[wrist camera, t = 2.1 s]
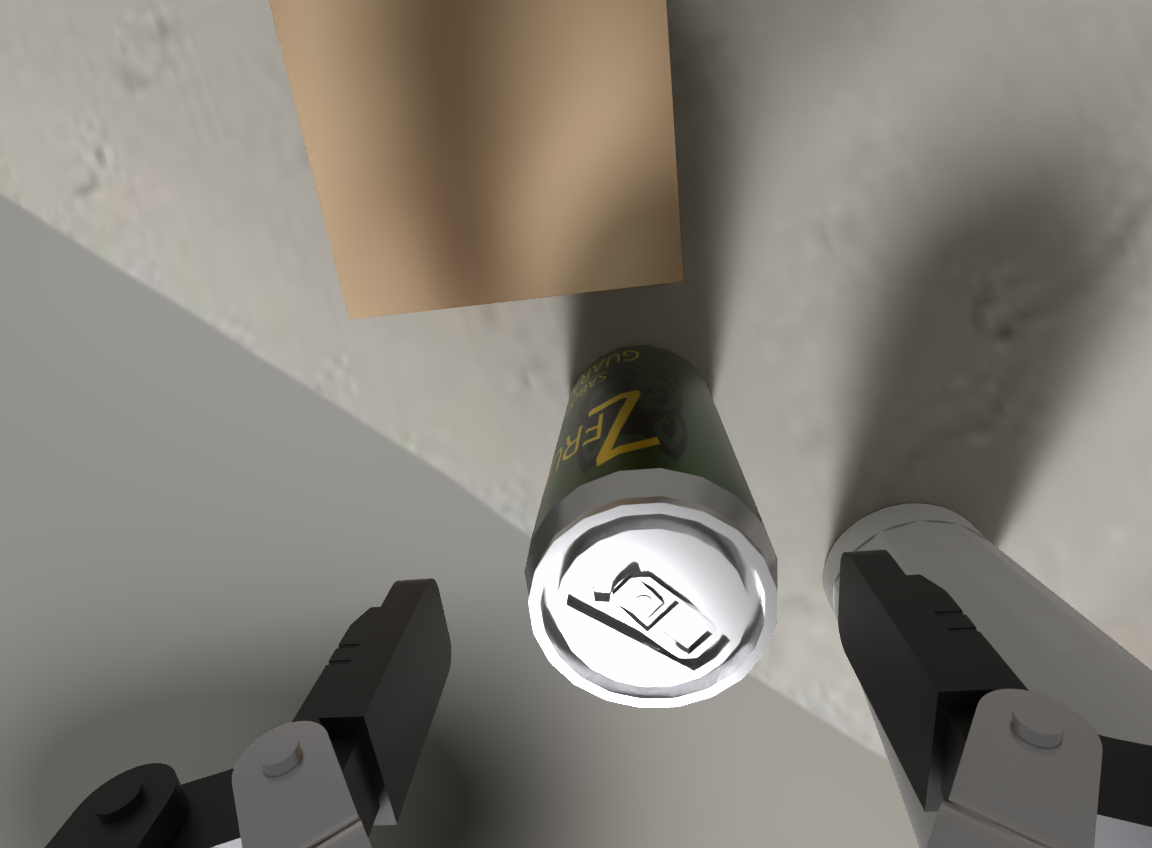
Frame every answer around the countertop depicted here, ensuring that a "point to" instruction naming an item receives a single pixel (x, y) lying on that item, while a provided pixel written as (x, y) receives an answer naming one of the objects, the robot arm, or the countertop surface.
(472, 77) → the stool
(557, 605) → the green soda can
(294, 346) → the countertop surface
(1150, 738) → the cup
